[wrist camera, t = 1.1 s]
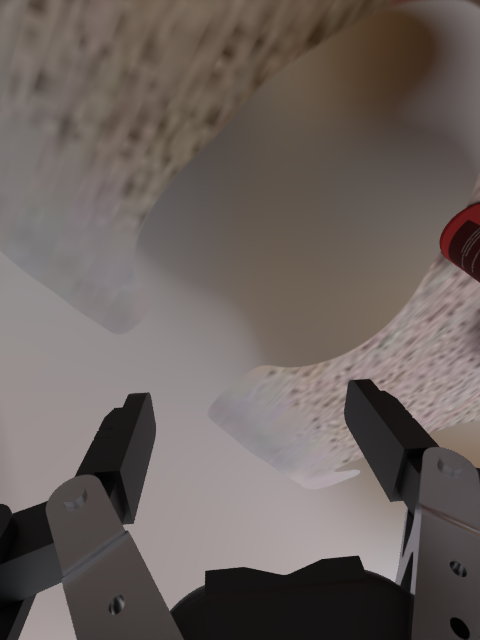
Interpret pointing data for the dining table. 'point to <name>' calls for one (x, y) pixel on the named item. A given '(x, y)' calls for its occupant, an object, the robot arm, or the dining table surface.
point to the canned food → (463, 241)
